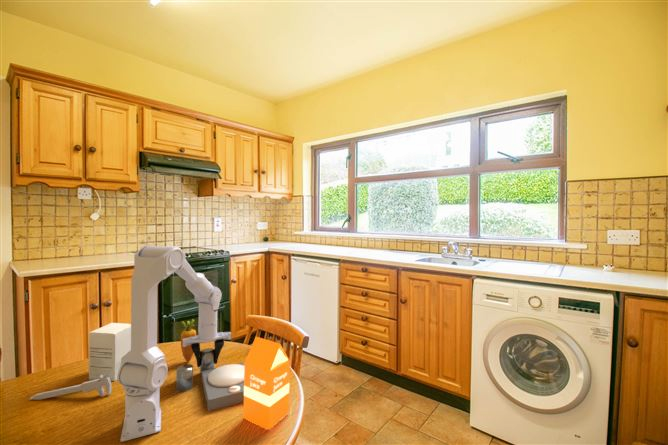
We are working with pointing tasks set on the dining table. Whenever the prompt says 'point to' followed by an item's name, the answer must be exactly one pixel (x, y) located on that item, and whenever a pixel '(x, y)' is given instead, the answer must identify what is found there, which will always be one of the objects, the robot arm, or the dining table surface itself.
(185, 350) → the carrot
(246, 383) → the orange juice
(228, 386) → the kitchen scale
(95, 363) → the supplement box
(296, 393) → the dining table surface
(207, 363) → the steel weight
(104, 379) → the caliper
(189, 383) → the steel weight
